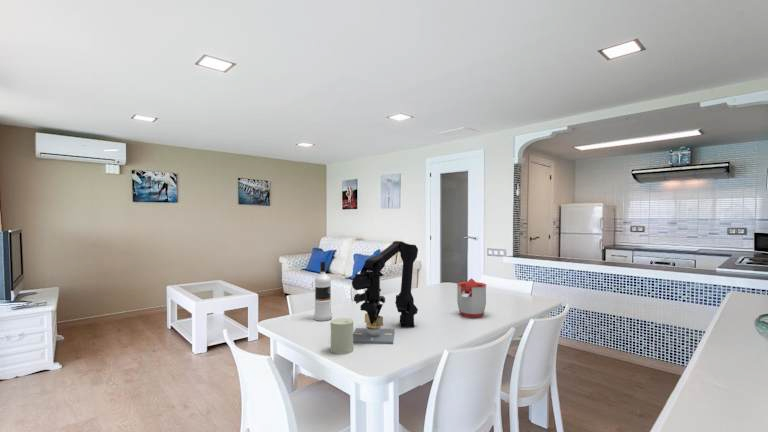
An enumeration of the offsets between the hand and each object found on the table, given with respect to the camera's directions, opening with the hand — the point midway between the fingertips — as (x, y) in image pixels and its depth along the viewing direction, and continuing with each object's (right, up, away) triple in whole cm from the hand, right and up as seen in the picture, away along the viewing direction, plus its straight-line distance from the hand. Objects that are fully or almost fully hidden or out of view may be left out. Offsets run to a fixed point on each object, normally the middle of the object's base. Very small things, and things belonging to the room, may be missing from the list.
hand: (373, 322), depth 163 cm
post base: (0, -6, 0) cm, 6 cm away
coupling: (0, -2, 0) cm, 2 cm away
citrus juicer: (+51, -7, +35) cm, 62 cm away
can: (-12, -7, -16) cm, 21 cm away
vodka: (-27, -7, +29) cm, 40 cm away
